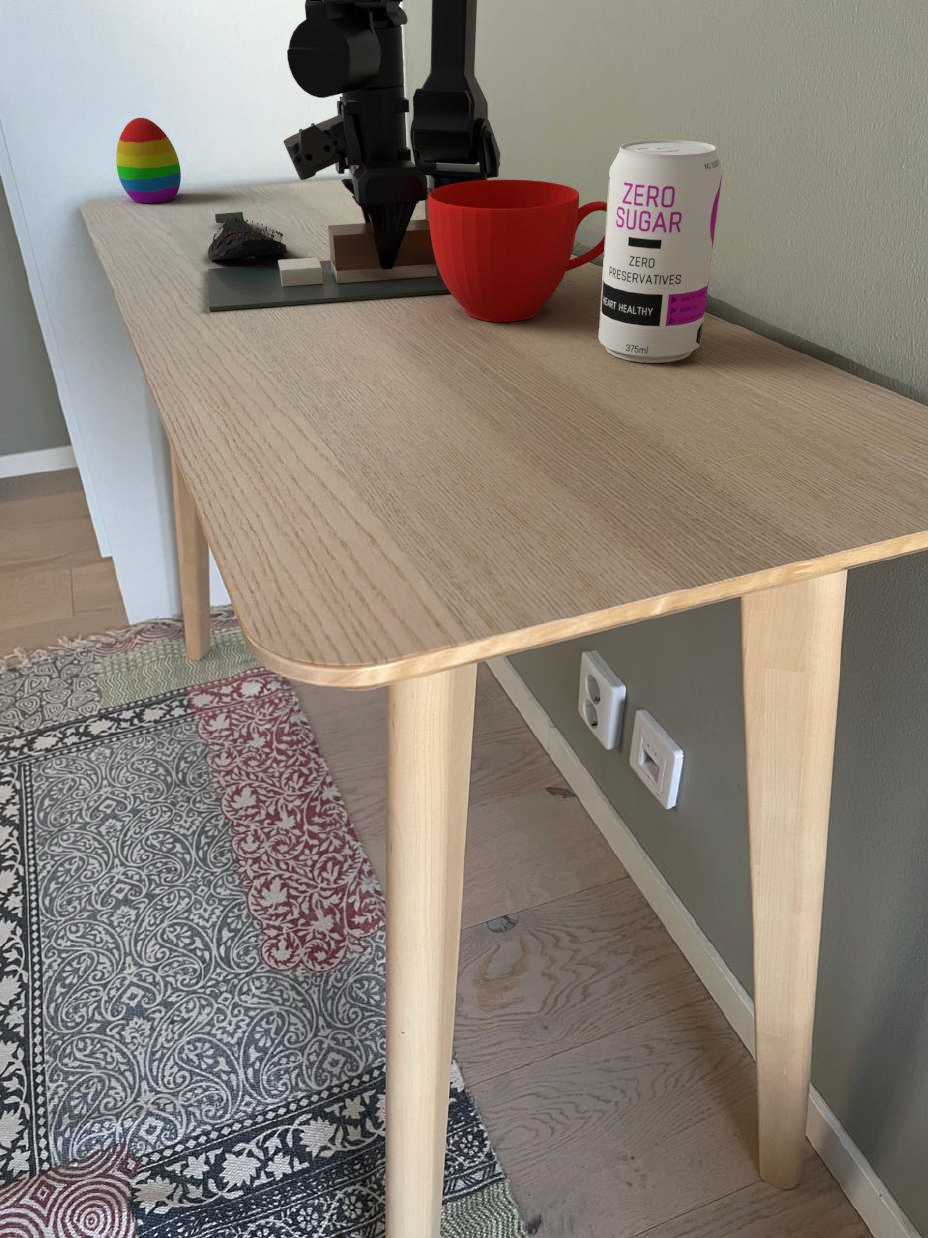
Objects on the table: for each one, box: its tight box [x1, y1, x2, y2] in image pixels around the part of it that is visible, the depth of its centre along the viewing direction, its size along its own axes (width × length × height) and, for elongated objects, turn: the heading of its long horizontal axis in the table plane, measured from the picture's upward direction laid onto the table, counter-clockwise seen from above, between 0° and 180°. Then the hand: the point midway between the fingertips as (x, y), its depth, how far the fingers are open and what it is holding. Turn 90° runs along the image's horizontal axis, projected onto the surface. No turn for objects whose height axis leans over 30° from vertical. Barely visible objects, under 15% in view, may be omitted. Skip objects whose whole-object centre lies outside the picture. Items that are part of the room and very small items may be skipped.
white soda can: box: [597, 139, 724, 364], centre depth 75 cm, size 8×8×15 cm
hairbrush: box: [207, 211, 288, 261], centre depth 110 cm, size 8×4×25 cm
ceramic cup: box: [428, 179, 607, 323], centre depth 86 cm, size 13×17×10 cm
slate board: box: [207, 259, 451, 312], centre depth 97 cm, size 24×14×1 cm, turn 103°
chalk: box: [277, 256, 323, 287], centre depth 96 cm, size 4×4×2 cm
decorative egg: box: [115, 117, 182, 204], centre depth 130 cm, size 8×8×10 cm
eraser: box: [327, 218, 437, 283], centre depth 97 cm, size 10×4×4 cm, turn 103°
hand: (383, 262), depth 97 cm, fingers closed on eraser, 4 cm apart
